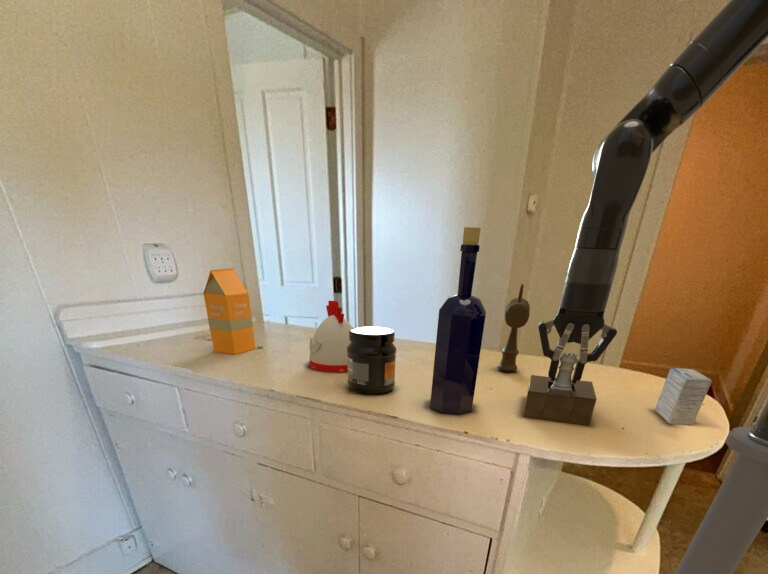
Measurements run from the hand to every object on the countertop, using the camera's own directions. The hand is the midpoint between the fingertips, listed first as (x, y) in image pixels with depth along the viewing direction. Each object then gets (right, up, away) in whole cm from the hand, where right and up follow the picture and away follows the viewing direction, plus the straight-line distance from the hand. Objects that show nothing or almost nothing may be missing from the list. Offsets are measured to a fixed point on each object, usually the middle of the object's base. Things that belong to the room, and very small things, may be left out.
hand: (563, 380), depth 82 cm
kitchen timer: (-47, +13, +28) cm, 56 cm away
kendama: (-3, +11, +29) cm, 31 cm away
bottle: (-21, -4, +4) cm, 22 cm away
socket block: (0, -5, +3) cm, 6 cm away
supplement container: (-38, +2, +13) cm, 40 cm away
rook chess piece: (0, -3, +2) cm, 3 cm away
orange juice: (-77, +21, +39) cm, 89 cm away
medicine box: (+22, -7, +2) cm, 23 cm away
